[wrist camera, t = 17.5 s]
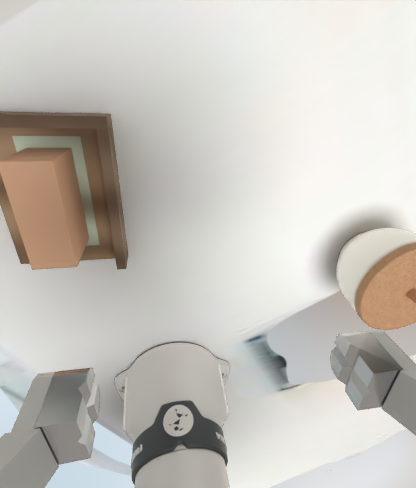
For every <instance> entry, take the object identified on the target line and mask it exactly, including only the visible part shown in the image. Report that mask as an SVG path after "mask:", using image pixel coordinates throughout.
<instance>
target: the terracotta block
mask: <svg viewBox="0 0 416 488" xmlns="http://www.w3.org/2000/svg"><path fill="white" fill-rule="evenodd" d="M0 173H1V176H2V179H3V182H4V185H5V188H6V191H7V195H8V198H9V201H10V204H11V207H12V210H13V213H14V216H15V219H16V222H17V225H18V228H19V231H20V234H21V237H22V240H23V243H24V246H25V249H26V252H27V256H28V259H29V262H30V265H31V268H32V270H34V269H49V268H65V267H77V266H78V264H79V261H80V259H81V256H82V254H83V252H84V249H85V247H86V245H87V242H88V240H89V234H88V229H87V224H86V219H85V214H84V209H83V203H82V198H81V193H80V188H79V183H78V178H77V173H76V168H75V163H74V158H73V153H72V148H25V149H23V150H21V151H19V152H16V153H14V154H12V155H10V156H8V157H6V158H4V159H1V160H0Z"/></svg>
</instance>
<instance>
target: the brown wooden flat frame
mask: <svg viewBox="0 0 416 488" xmlns="http://www.w3.org/2000/svg"><path fill="white" fill-rule="evenodd" d="M25 148H72V153H73V158H74V163H75V168H76V173H77V178H78V183H79V188H80V193H81V198H82V203H83V209H84V214H85V219H86V224H87V229H88V234H89V240H88V242H87V245H86V247H85V249H84V252H83V254H82V256H81V259H80V260H94V259H110V258H116V264H117V269H126V267H127V260H128V250H127V242H126V234H125V226H124V218H123V210H122V202H121V194H120V186H119V178H118V170H117V162H116V154H115V146H114V138H113V130H112V122H111V114H86V113H37V112H0V160H1V159H4V158H6V157H8V156H10V155H12V154H14V153H16V152H19V151H21V150H23V149H25ZM0 205H1V207H2V210H3V213H4V216H5V219H6V222H7V225H8V228H9V230H10V233H11V236H12V239H13V242H14V245H15V248H16V251H17V254H18V256H19V259H20V262H21V264H28V263H30V262H29V259H28V256H27V252H26V249H25V246H24V243H23V240H22V237H21V234H20V231H19V228H18V225H17V222H16V219H15V216H14V213H13V210H12V207H11V204H10V201H9V198H8V195H7V191H6V188H5V185H4V182H3V179H2V176H1V173H0Z"/></svg>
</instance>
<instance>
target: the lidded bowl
mask: <svg viewBox="0 0 416 488" xmlns="http://www.w3.org/2000/svg"><path fill="white" fill-rule="evenodd" d="M336 273H337V281H338V284H339V287H340V289H341V291H342V293H343V295H344V296H345V298H346V299H347V301H348V302H349V304H350V305H351V306H352V307H353V309H354V310H355V311H356V312H357V314H358V315H359V317H360V318H361V319H362V320H363V321H364V322H365V323H366V324H367V325H368V326H370V327H372V328H375V329H380V330H392V329H398V328H402V327H405V326H408V325H410V324H413V323H415V322H416V233H413V232H411V231H407V230H403V229H398V228H380V229H374V230H371V231H368V232H363V233H360V234H358V235H356V236H354V237H353V238H351V239H350V240H349V241H348V242H347V243H346V244H345V245H344V246H343V248H342V249H341V251H340V254H339V257H338V263H337V271H336Z"/></svg>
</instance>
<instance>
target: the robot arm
mask: <svg viewBox="0 0 416 488" xmlns="http://www.w3.org/2000/svg"><path fill="white" fill-rule="evenodd" d="M334 343H335V344H336V345H337V346H336V347H335V348H334V349H333V350H332V351H331V355H330V363H331V367H332V370H333V372H334V374H335V376H336V377H337V379H338V380H340V381H341V382H343V383H344V384H346V388H345V392H346V393H347V395H348V396H349V398H350V399H351V401H352V402H353V404H354V405H355V407H356V409H357V410H364V409H370V408H377V407H382V409H383V410H384V411H385V412H387V413H388V414H389V415H391V416H392V417H393V418H394V419H396V420H397V421H398V422H399V423H401V424H402V425H403V426H405V427H406V428H407V429H408V430H410V431H411V432H412V433H413V434H415V435H416V364H415V363H414V362H413V361H412V360H411V359H410V358H409V357H408V356H407V355H406V354H405V353H404V352H403V351H402V350H401V348H400V347H399V346H398V345H396V343H395V342H394V341H393V340H392V339H391V338H390V337H389V336H388V335H387V334H386V333H385V332H384V331H382V330H380V329H375V330H367V331H358V332H351V333H345V334H339V335H338V336H337V337H336V339H335V342H334ZM229 372H230V367H229V363H228V362H226V361H224V360H221V359H217V358H216V357H214V356H213V355H212V354H211V353H210V352H209V351H208V350H206V349H205V348H203V347H201V346H198V345H195V344H190V343H170V344H165V345H161V346H158V347H155V348H153V349H151V350H149V351H147V352H145V353H144V354H142V355H141V356H140V357H138V358H137V359H136V361H135V362H134V363H133V364H132V366H131V367H130V368H129V369H128V370H126V371H124V372H122V373H121V374H119V375H118V376H117V377H116V378H115V387H116V389H117V391H118V393H119V394H120V396H121V398H122V400H123V402H124V414H123V430H124V431H125V432H126V434H127V436H128V437H129V438H130V439H131V440H132V441H133V442H134V444H133V455H132V460H131V468H132V481H133V483H134V485H135V488H230V485H229V480H228V475H227V470H226V466H227V462H228V459H227V453H226V452H227V448H226V442H225V440H224V436H223V431H222V429H221V427H222V426H223V425H224V422H225V420H226V417H227V415H228V413H229V411H228V404H227V399H226V394H225V389H224V385H225V382H226V379H227V377H228V374H229ZM94 378H95V373H94V370H93V368H86V369H77V370H68V371H58V372H50V373H42V374H38V375H37V376H36V377H35V379H34V380H33V382H32V384H31V387H30V389H29V391H28V394H27V396H26V399H25V401H24V403H23V406H22V408H21V410H20V413H19V415H18V417H17V420H16V422H15V424H14V427H13V429H12V432H11V433H6V434H4V435H3V436H2V437H1V438H0V488H45V486H46V485H47V483H48V482H49V480H50V479H51V477H52V476H53V475H54V473H55V471H56V470H57V469H58V467H59V466H58V465H59V464H64V463H69V462H74V461H79V460H83V459H88V458H91V453H92V447H93V442H94V436H95V431H94V428H93V425H92V424H93V423H94V421H95V420H96V419H97V418H98V413H99V407H100V393H99V387H98V384H96V383H95V382H94Z"/></svg>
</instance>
